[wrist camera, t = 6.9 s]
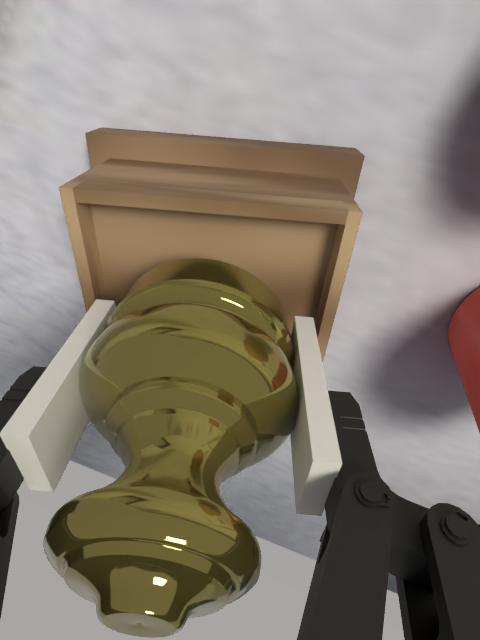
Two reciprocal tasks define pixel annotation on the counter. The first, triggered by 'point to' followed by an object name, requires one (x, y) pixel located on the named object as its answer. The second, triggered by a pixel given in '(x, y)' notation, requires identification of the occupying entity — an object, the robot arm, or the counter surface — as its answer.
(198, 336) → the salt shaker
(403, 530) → the robot arm
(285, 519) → the counter surface
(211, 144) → the brown wooden square box
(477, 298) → the flower pot
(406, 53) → the counter surface
